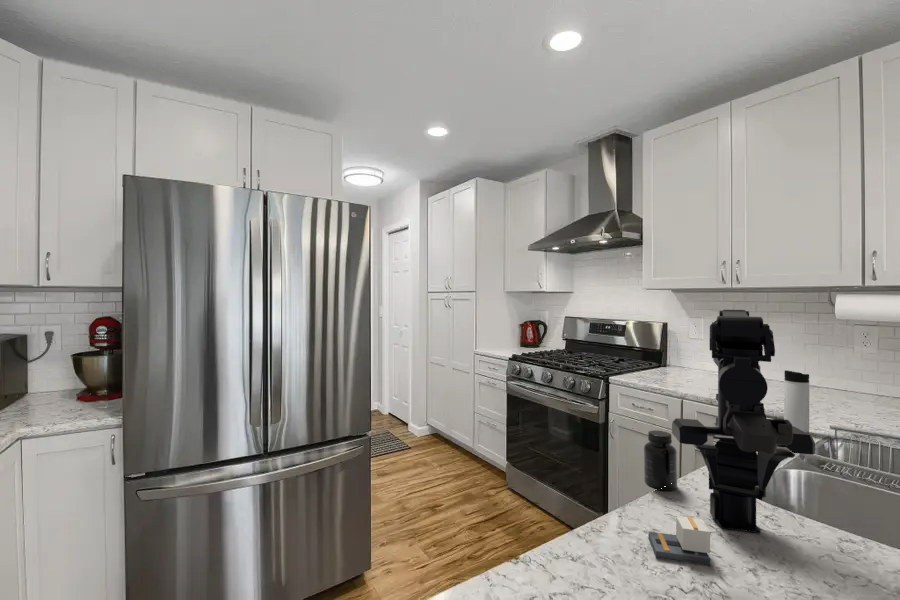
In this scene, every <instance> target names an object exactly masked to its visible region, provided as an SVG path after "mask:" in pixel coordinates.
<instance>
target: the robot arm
mask: <svg viewBox="0 0 900 600" xmlns="http://www.w3.org/2000/svg"><path fill="white" fill-rule="evenodd" d="M718 312H719V315H717V317H716V320H714V321H712V322H711V324H710V325H709V351H711V359H713V363H714V364H715V365H716V366H717V373H718V374H717V393H716V394H715V400H716V401H717V417H715V424H716V425H717V426H706V425H704V424H703V423H702V422H701V421H700V420H698V419H690V418H678V417H677V418H675V419H674V420H673V421H672V423H671V435H673V436H674V438H675V439H676V440H677V441H678V442H679V443H680V444H683V445H693V447H695V448H696V449H697V450H699V452H700V454H701V456H702V458H703V461H704V463H705V466H706V469H707V471H708V490H712V492H710V494H709V499H710V500H709V514H710V515H711V516H712V517H713V518H714V519H713V520H715V521H716V523H717V524H718V525H719V527H720V528H722V529H725V530H726V529H727V530H734V531H735V530H736V531H742V532H743V531H744V532H749V533H750V532H751V533H761V529H760V527H759V525H757V500H760V501H763V498H766V495H767V493H766V492H767V487H768V484H769V483H770V481H771V478H772V477H773V475H774V473H775V471H776V470H777V467H778V466H779V464H781V462H783V461H784V460H786V459H788V458H790V459H793V458H795V456H796V454H801V455H815V454H816V442H815V439H814V437H813V436H812V435H811V434H810V433H809V434H807V433H805V432H803V431H802V430H800V429H798V428H796V427H794V426H792V424H791V423H790V422H789V420H784V418H783V419H782V418H767V415H766V412H765V404H764V403H763V402H762V400H764V399H765V397H766V396H767V393H768V382H767V381H766V378H765V376H764V375H763V374H762V371H761V365H760V364H759V363H760V362H766V363H767V362H768V363H772V357H775V356H776V355H775V354H776V348H775V339H774V333H773V332H774V331H773V330H772V329H770V325H769V323H764V319H763V317H762V316H750V312H749V310H746V309H722V310H719V311H718ZM763 352H764V353H763ZM714 439H715V440H717V441H716V442H715V441H714ZM714 442H715V444H714Z"/></svg>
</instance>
